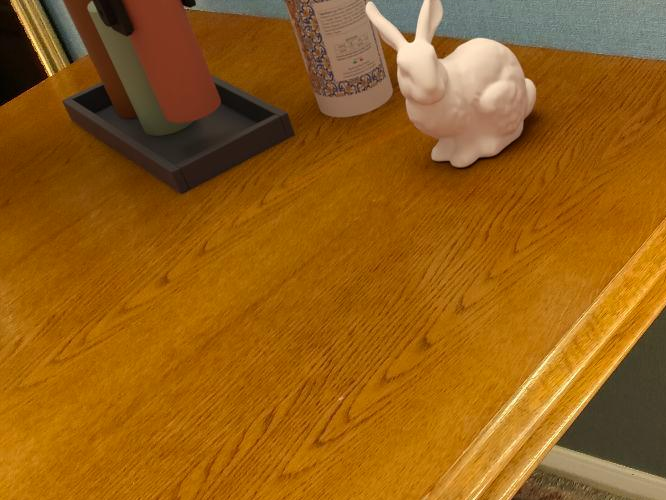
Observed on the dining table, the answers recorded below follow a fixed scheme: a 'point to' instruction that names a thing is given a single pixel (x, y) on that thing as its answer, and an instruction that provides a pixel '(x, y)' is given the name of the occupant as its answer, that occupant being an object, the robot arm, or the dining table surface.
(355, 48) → the bath foam
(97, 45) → the amber bottle
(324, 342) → the dining table surface
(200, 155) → the tray
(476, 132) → the rabbit
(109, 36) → the sage bottle
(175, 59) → the terracotta bottle
